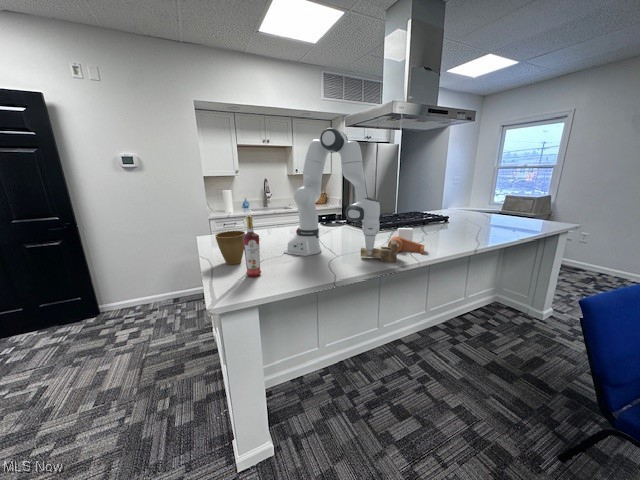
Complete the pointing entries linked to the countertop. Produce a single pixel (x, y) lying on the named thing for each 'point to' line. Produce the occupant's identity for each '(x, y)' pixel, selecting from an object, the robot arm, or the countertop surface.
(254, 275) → the liquor
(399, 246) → the crank
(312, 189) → the robot arm
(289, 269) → the countertop surface
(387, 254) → the wooden u-shaped bracket
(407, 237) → the white piece
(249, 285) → the countertop surface
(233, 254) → the plant pot
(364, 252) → the rail
